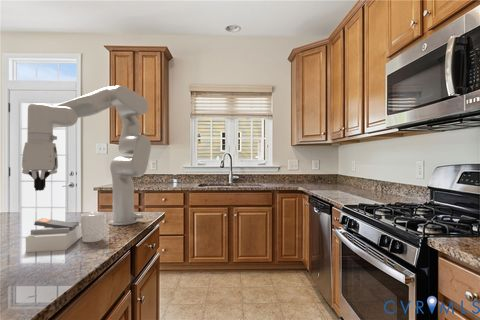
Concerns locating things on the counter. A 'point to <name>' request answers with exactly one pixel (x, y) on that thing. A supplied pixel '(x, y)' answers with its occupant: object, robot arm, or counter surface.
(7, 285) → the counter surface
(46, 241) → the breaker panel
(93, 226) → the white cup
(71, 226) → the breaker rocker
